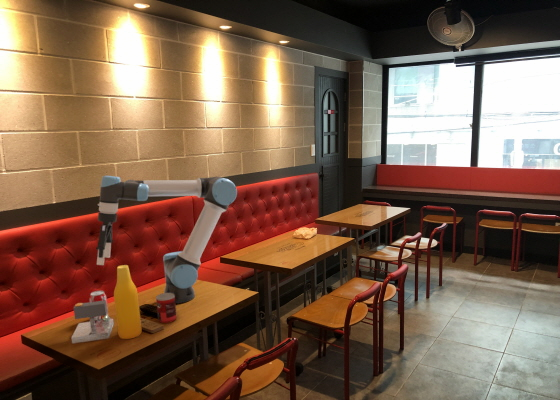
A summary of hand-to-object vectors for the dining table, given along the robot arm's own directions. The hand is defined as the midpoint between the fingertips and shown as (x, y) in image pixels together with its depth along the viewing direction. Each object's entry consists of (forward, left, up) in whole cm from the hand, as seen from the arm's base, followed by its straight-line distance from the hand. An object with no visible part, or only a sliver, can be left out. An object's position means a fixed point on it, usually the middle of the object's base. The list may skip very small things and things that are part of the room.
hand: (103, 261), depth 197 cm
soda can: (+6, -7, -28) cm, 30 cm away
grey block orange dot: (+6, +9, -25) cm, 28 cm away
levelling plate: (+6, +9, -28) cm, 30 cm away
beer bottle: (-10, +15, -28) cm, 34 cm away
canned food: (-24, +5, -28) cm, 38 cm away
